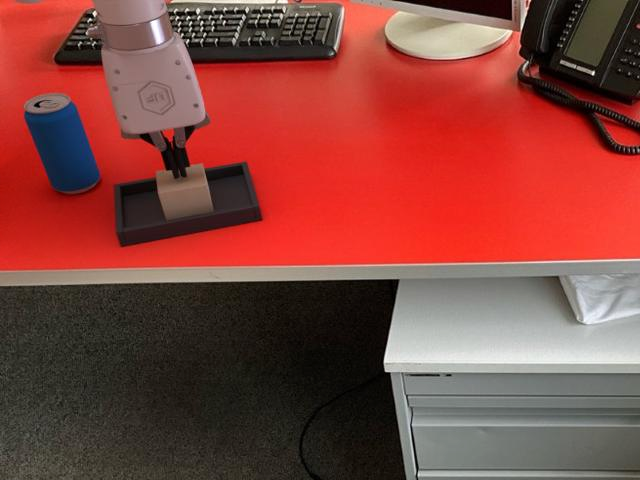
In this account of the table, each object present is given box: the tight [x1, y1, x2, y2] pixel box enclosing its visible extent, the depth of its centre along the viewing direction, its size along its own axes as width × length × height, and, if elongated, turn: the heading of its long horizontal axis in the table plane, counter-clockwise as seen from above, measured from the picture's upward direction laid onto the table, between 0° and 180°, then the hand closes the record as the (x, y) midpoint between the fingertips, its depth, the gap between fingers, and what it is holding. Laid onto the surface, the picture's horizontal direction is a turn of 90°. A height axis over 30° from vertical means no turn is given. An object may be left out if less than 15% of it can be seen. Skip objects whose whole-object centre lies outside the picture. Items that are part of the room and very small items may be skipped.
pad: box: [155, 162, 214, 220], centre depth 116 cm, size 6×6×4 cm
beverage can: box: [23, 92, 102, 195], centre depth 119 cm, size 6×6×12 cm
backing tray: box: [113, 161, 263, 247], centre depth 117 cm, size 18×13×2 cm
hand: (179, 173), depth 114 cm, fingers closed
